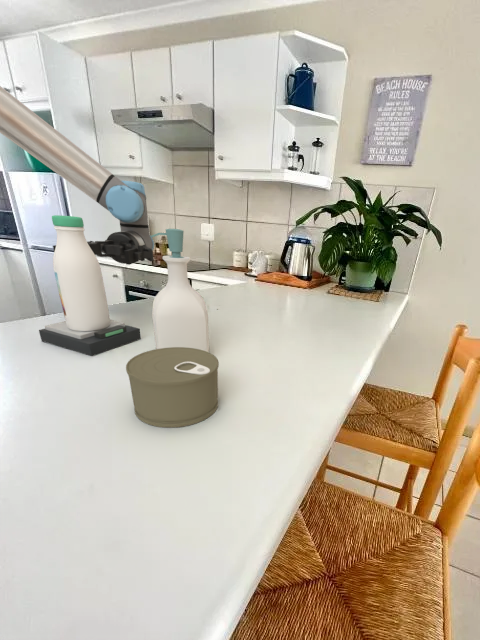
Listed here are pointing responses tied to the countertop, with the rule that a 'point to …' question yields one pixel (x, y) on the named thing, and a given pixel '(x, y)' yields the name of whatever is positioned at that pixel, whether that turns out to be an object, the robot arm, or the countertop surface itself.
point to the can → (174, 386)
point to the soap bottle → (179, 303)
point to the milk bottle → (78, 277)
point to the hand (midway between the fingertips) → (92, 255)
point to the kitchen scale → (90, 337)
